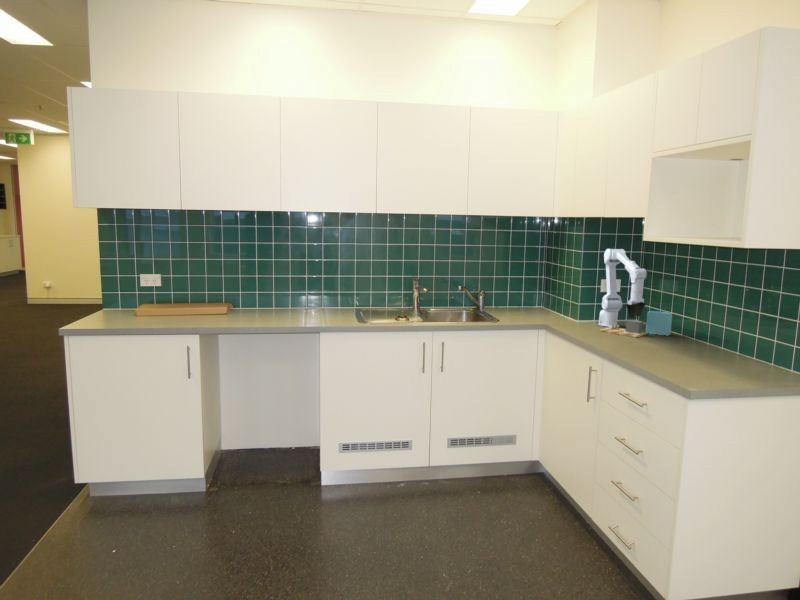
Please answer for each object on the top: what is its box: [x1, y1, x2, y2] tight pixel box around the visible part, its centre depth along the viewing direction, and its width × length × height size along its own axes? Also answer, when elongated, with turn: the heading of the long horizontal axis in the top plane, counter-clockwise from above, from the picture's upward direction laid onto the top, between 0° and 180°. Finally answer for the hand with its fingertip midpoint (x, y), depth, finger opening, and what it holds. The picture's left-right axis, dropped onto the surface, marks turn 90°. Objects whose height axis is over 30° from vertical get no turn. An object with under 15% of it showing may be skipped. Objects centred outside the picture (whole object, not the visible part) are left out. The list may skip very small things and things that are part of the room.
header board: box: [599, 324, 648, 338], centre depth 293 cm, size 20×13×3 cm, turn 42°
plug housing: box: [625, 319, 643, 334], centre depth 290 cm, size 7×4×6 cm, turn 42°
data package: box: [645, 310, 673, 337], centre depth 292 cm, size 12×4×12 cm, turn 66°
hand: (634, 316), depth 289 cm, fingers open, 7 cm apart
